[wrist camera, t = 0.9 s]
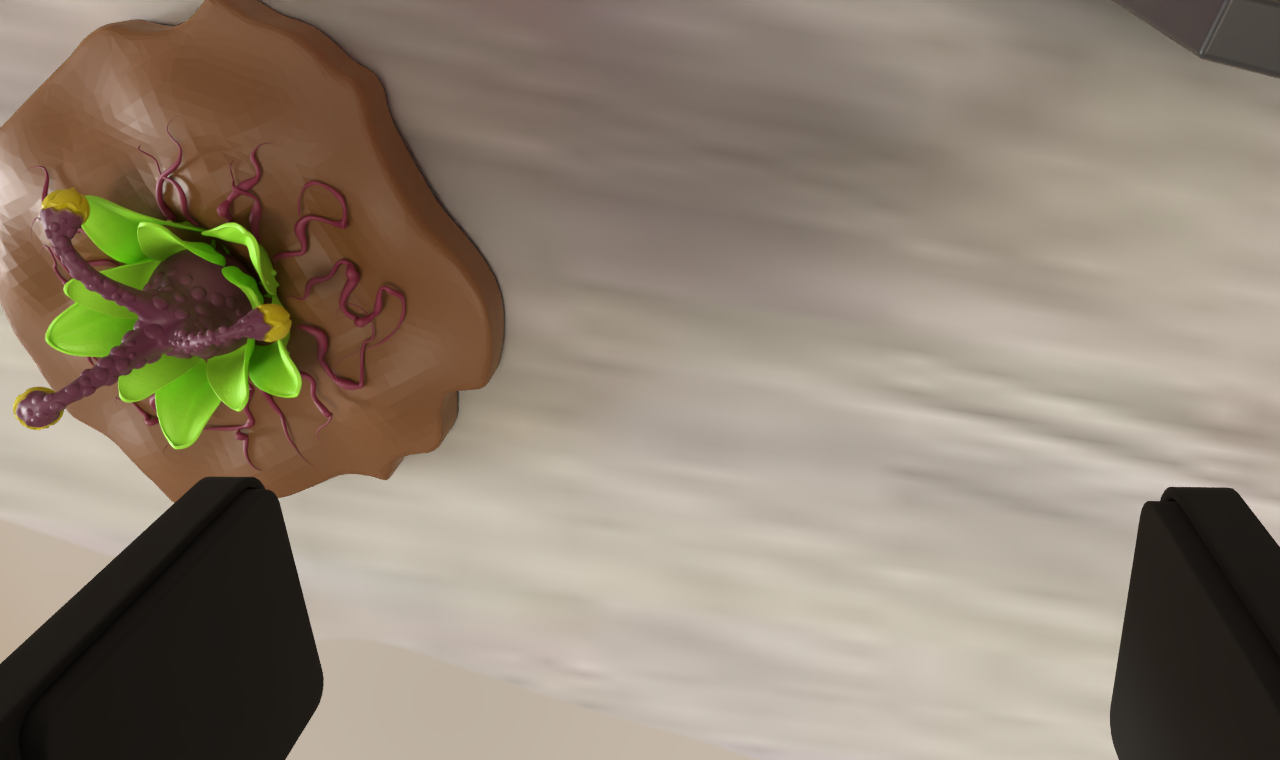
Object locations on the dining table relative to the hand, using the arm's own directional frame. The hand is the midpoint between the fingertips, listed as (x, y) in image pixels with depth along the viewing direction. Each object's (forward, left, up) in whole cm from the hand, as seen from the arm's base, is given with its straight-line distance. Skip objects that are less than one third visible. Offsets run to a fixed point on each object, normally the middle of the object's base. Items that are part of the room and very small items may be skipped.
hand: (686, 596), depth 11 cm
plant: (0, -22, -28) cm, 35 cm away
